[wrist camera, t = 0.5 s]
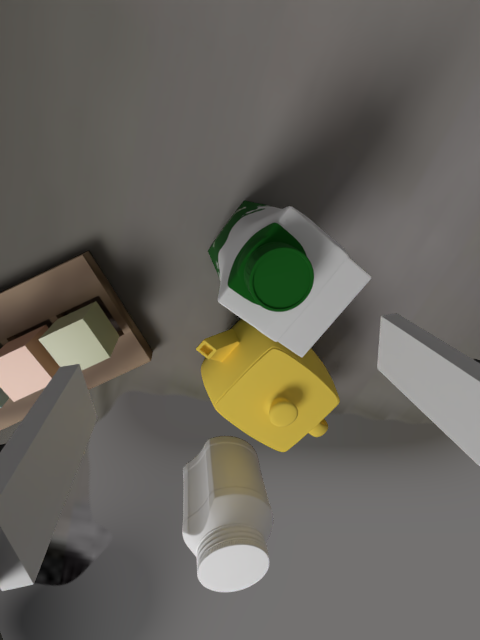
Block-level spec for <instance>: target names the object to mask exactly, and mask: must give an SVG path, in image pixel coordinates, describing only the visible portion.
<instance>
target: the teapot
mask: <svg viewBox="0 0 480 640" xmlns="http://www.w3.org/2000/svg"><path fill="white" fill-rule="evenodd" d="M196 350H197V351H198V352H200V353H201V354H202V355H203V356H205V357H206V358H205V359H204V361H203V363H202V366H201V374H202V379H203V382H204V385H205V388H206V391H207V393H208V395H209V397H210V399H211V402H212V403H213V406H214V407H215V409H216V410H217V411H218V412H219V413H220V414H221V415H222V416H223V417H224V418H225V419H227V420H228V421H229V422H231V423H232V424H233V425H235V426H236V427H237V428H239V429H240V430H242V431H243V432H244V433H246V434H248V435H249V436H251V437H252V438H254V439H256V440H257V441H259V442H261V443H263V444H264V445H266V446H268V447H270V448H272V449H274V450H276V451H279V452H286V451H287V450H289V449H290V448H291V447H292V446H294V445H295V444H296V443H297V442H298V441H300V440H301V439H302V438H303V437H304V436H305V435H306V434H308V433H309V434H311V435H312V436H315V437H319V436H322V435H323V434H324V433H325V432H326V431H327V429H328V424H327V422H326V421H325V419H324V418H325V417H326V416H327V415H328V414H329V413H330V412H331V411H332V410H333V409H334V408H335V407H336V406H337V405H338V404H339V402H340V400H339V396H338V393H337V391H336V388H335V385H334V383H333V381H332V378H331V376H330V374H329V373H328V371H327V369H326V367H325V366H324V364H323V363H322V361H321V360H320V359H319V357H318V356H317V355H316V353H315V352H314V351H313V350H312V349H311V348H310V349H309V350H308V352H307V353H306V354H305V355H304V356H303V357H300V356H298V355H297V354H295V353H294V352H292V351H291V350H289V349H288V348H287V347H285V346H284V345H282V344H281V343H279V342H278V341H277V342H275V341H273V340H272V339H270V338H268V337H267V336H265V335H264V334H262V333H261V332H260V331H258V330H257V329H256V328H255V327H253V326H252V325H250V324H249V323H247V322H246V321H244V320H243V319H242V318H241V319H240V320H239V321H238V322H237V323H236V324H235V325H234V326H233V327H232V328H231V329H230V330H227V331H225V332H222V333H219V334H217V335H214V336H211V337H209V338H206V339H204V340H203V341H202V342H201V344H200V345H199V346H198V347H197V348H196Z"/></svg>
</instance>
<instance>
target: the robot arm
mask: <svg viewBox="0 0 480 640" xmlns="http://www.w3.org/2000/svg"><path fill="white" fill-rule="evenodd" d="M377 369H378V370H379V371H380V372H381V373H382V374H383V375H384V376H386V377H387V378H388V379H389V380H390V381H391V382H392V383H393V384H394V385H395V386H396V387H397V388H398V389H399V390H400V391H401V392H402V393H403V394H404V395H405V396H406V397H407V398H409V399H410V400H411V401H412V402H413V403H414V404H415V405H416V406H417V407H418V408H419V409H420V410H421V411H422V412H423V413H424V414H425V415H426V416H427V417H428V418H429V419H430V420H432V421H433V422H434V423H435V424H436V425H437V426H438V427H439V428H440V429H441V430H442V431H443V432H444V433H445V434H446V435H447V436H448V437H449V438H450V439H451V440H453V441H454V442H455V443H456V444H457V445H458V446H459V447H460V448H461V449H462V450H463V451H464V452H465V453H466V454H467V455H468V456H469V457H470V458H471V459H473V461H474V462H475V463H477V464H478V465H479V466H480V360H477V359H472V358H470V357H468V356H467V355H465V354H463V353H462V352H460V351H458V350H457V349H455V348H453V347H452V346H450V345H448V344H447V343H445V342H444V341H442V340H440V339H439V338H437V337H435V336H434V335H432V334H430V333H429V332H427V331H425V330H424V329H422V328H420V327H419V326H417V325H415V324H414V323H412V322H410V321H409V320H407V319H405V318H404V317H402V316H401V315H399V314H397V313H396V314H390V315H383V316H381V323H380V337H379V350H378V364H377ZM97 418H98V417H97V414H96V411H95V409H94V406H93V403H92V400H91V397H90V394H89V391H88V388H87V385H86V382H85V379H84V376H83V373H82V370H81V367H80V364H75V365H69V366H62V367H60V368H59V369H58V370H57V372H56V373H55V375H54V376H53V378H52V379H51V380H50V382H49V383H48V385H47V386H46V388H45V389H44V390H43V392H42V393H41V395H40V396H39V398H38V399H37V400H36V402H35V403H34V405H33V406H32V408H31V409H30V410H29V412H28V413H27V415H26V416H25V418H24V419H23V420H22V422H21V423H20V425H19V426H18V428H17V429H16V430H15V432H14V433H13V435H12V436H11V438H10V439H9V440H8V442H7V443H6V444H2V445H0V588H1V590H2V591H5V590H9V589H14V588H18V587H23V586H28V585H32V584H34V582H35V579H36V577H37V574H38V572H39V569H40V566H41V564H42V561H43V559H44V556H45V553H46V551H47V548H48V545H49V543H50V540H51V538H52V535H53V532H54V530H55V527H56V525H57V522H58V519H59V517H60V514H61V512H62V509H63V506H64V504H65V501H66V499H67V496H68V493H69V491H70V488H71V486H72V483H73V480H74V478H75V475H76V473H77V470H78V467H79V465H80V462H81V460H82V457H83V454H84V452H85V449H86V446H87V444H88V441H89V439H90V436H91V433H92V431H93V428H94V426H95V423H96V420H97ZM0 640H3V638H2V635H1V633H0Z"/></svg>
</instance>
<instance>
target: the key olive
mask: <svg viewBox="0 0 480 640" xmlns="http://www.w3.org/2000/svg"><path fill="white" fill-rule="evenodd" d="M118 338H119V334H118V333H117V331H116V330H115V328H114V327H113V325H112V324H111V322H110V321H109V319H108V318H107V316H106V315H105V314H104V312H103V311H102V309H101V308H100V306H99V305H98V303H97V302H96V301H95V302H93V303H91V304H89V305H87V306H85V307H83V308H80V309H78V310H76V311H74V312H72V313H70V314H68V315H65V316H63V317H61V318H59V319H57V320H56V321H55V322H54V323H53V324H52V326H51V327H50V328H49V329H48V330H47V331H46V332H45V333H44V334H43V335H42V336H41V337H40V338H39V339H38V340H39V341H40V342H41V343H42V345H43V346H44V347H45V348H46V350H47V351H48V352H49V353H50V355H51V356H52V357H53V358H54V360H55V361H56V362H57V363H58V365H59V366H60V367H62V366H69V365H75V364H80V367H81V370H84V369H86V368H88V367H91V366H93V365H95V364H97V363H99V362H101V361H103V360H106V359H108V358H110V357H111V354H112V352H113V350H114V347H115V345H116V343H117V341H118Z"/></svg>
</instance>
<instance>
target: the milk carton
mask: <svg viewBox="0 0 480 640" xmlns="http://www.w3.org/2000/svg"><path fill="white" fill-rule="evenodd" d="M208 252H209V255H210V257H211V259H212V262H213V264H214V266H215V269H216V271H217V273H218V276H219V279H220V282H221V283H220V289H219V295H218V301H219V303H220V304H222V305H223V306H224V307H226V308H227V309H229V310H230V311H231V312H233V313H234V314H236V315H237V316H239V317H240V318H242V319H243V320H244V321H246V322H247V323H249V324H250V325H252V326H253V327H255V328H256V329H257V330H258V331H260V332H261V333H262V334H264V335H265V336H267V337H268V338H270V339H272V340H273V341H275V342H277V341H278V342H279V343H281V344H282V345H284V346H285V347H287V348H288V349H289V350H291V351H292V352H294V353H295V354H297V355H298V356H300V357H303V356H304V355H305V354H306V353H307V352H308V350H309V349H310V348H311V347H312V346H313V345H314V344H315V342H316V341H317V340H318V339H319V338H320V337H321V336H322V334H323V333H324V332H325V331H326V330H327V329H328V328H329V326H330V325H331V324H332V323H333V322H334V321H335V319H336V318H337V317H338V316H339V315H340V314H341V313H342V311H343V310H344V309H345V308H346V307H347V306H348V305H349V303H350V302H351V301H352V300H353V299H354V298H355V297H356V295H357V294H358V293H359V292H360V291H361V290H362V288H363V287H364V286H365V285H366V284H367V283H368V282H369V280H370V279H371V278H372V277H371V276H370V275H369V274H368V273H367V272H366V271H364V270H363V269H362V268H361V267H360V266H359V265H358V264H356V263H355V262H354V261H353V260H352V259H351V258H350V257H349V255H348V253H347V252H346V250H345V249H344V248H343V247H342V246H341V245H340V244H339V243H338V242H337V241H335V240H334V239H333V238H332V237H331V236H329V235H328V234H327V233H325V232H324V231H323V230H322V229H321V228H320V227H319V226H317V225H316V224H315V223H314V222H313V221H312V220H310V219H309V218H308V217H307V216H305V215H304V214H303V213H301V212H300V211H298V210H297V209H295V208H294V207H291V206H288V207H285V208H283V209H280V208H276V207H272V206H268V205H264V204H259V203H254V202H249V201H244V202H243V203H242V204H241V205H240V207H239V208H238V209H237V211H236V212H235V213H234V214H233V216H232V217H231V218H230V220H229V221H228V222H227V224H226V225H225V226H224V228H223V229H222V231H221V232H220V234H219V235H218V237H217V238H216V239H215V241H214V243H213V244H212V246H211V247H210V249H209V250H208Z"/></svg>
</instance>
